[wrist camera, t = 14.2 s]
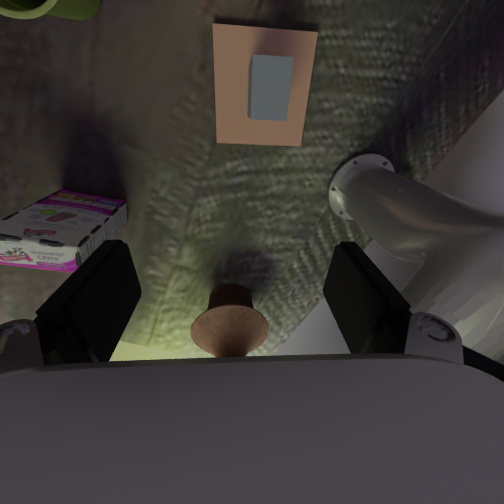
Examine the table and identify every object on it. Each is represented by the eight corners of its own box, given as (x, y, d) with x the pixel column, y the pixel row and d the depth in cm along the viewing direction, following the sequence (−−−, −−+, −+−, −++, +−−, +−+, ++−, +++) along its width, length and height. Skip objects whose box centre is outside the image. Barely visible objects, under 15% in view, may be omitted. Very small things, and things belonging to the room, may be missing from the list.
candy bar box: (67, 213, 42) (-13, 264, 29) (61, 187, 40) (-30, 231, 26) (129, 223, 44) (82, 276, 31) (128, 200, 42) (76, 246, 28)
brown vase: (257, 323, 64) (270, 449, 40) (197, 320, 61) (173, 452, 38) (268, 275, 54) (294, 405, 31) (197, 270, 52) (166, 405, 29)
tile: (315, 34, 31) (318, 32, 30) (299, 145, 38) (300, 146, 38) (213, 25, 30) (212, 23, 29) (217, 141, 37) (217, 142, 36)
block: (280, 68, 32) (293, 57, 24) (275, 117, 35) (286, 121, 27) (248, 66, 31) (252, 54, 24) (247, 116, 35) (250, 119, 27)
